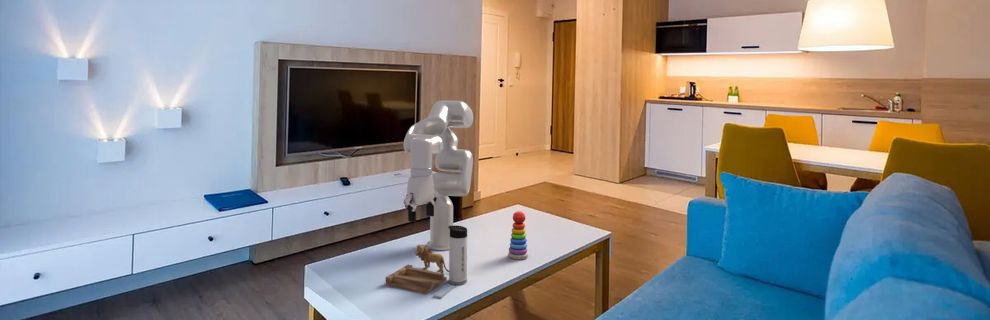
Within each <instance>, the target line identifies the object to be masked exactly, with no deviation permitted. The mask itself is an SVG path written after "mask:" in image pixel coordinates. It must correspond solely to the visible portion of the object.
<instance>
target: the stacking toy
mask: <svg viewBox="0 0 990 320" xmlns="http://www.w3.org/2000/svg"><path fill="white" fill-rule="evenodd" d="M512 220H513V222H514V223H512V228H511V233H510V237H511V238H510V241H509V242H510V243H509V248H508V254H507V255H508V257H509V258H510V259H512V260H525V259H527V258H528V257H529V253H528V248H527V247H528V244H527V241H528V239H527V238H526V237H527V234H526V229H525V228H526V224H525V221H526V214H525V213H524V212H523V211H522V210H521V211H519V210H518V211H516V212H514V213H513V214H512Z"/></svg>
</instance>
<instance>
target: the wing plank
mask: <svg viewBox="0 0 990 320" xmlns="http://www.w3.org/2000/svg"><path fill="white" fill-rule="evenodd" d="M453 289H455V285H454V284H445V285H444V286H443V287H441V288H440V289H439V290H437V292H436V293H434V294H433V295H432V298H435V299H440V300H441V299H443V298H445V296H446V295H448V294H449V293H450V292H451V291H452V290H453Z"/></svg>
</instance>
